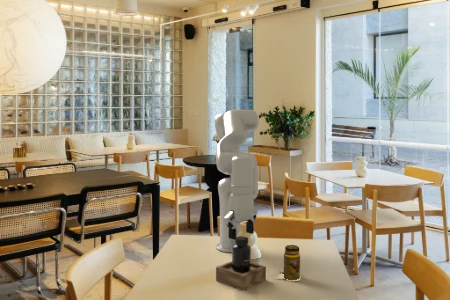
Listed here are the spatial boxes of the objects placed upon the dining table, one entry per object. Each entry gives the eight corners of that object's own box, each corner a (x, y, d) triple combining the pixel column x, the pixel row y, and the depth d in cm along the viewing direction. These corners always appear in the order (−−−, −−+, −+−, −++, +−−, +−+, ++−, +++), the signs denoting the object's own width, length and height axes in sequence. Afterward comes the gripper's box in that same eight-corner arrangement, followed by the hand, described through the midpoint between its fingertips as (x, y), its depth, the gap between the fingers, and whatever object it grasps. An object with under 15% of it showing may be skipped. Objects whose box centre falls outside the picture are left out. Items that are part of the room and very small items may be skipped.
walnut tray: (239, 271, 191) (239, 258, 190) (265, 280, 182) (266, 266, 181) (216, 280, 181) (216, 266, 180) (242, 290, 172) (242, 276, 172)
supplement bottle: (249, 273, 177) (249, 241, 176) (230, 272, 179) (230, 240, 177) (251, 267, 184) (252, 235, 183) (233, 265, 185) (234, 234, 184)
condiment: (299, 282, 180) (299, 250, 179) (276, 279, 183) (276, 248, 181) (302, 275, 187) (302, 244, 186) (280, 272, 190) (280, 242, 188)
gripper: (249, 185, 186) (248, 228, 189) (217, 192, 174) (217, 238, 176) (264, 187, 181) (264, 232, 184) (233, 195, 169) (233, 243, 171)
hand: (241, 235), depth 180 cm, fingers open, 9 cm apart
